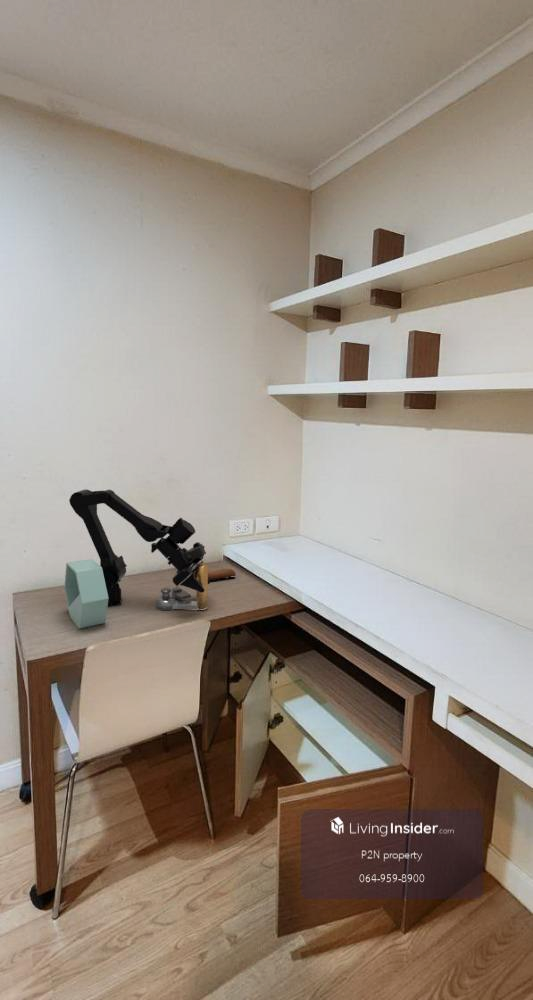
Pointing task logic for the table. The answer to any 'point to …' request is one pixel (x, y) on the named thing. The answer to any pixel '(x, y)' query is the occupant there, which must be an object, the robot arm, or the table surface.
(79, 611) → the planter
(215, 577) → the sunglasses case
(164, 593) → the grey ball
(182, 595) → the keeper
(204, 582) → the link
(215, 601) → the table surface
